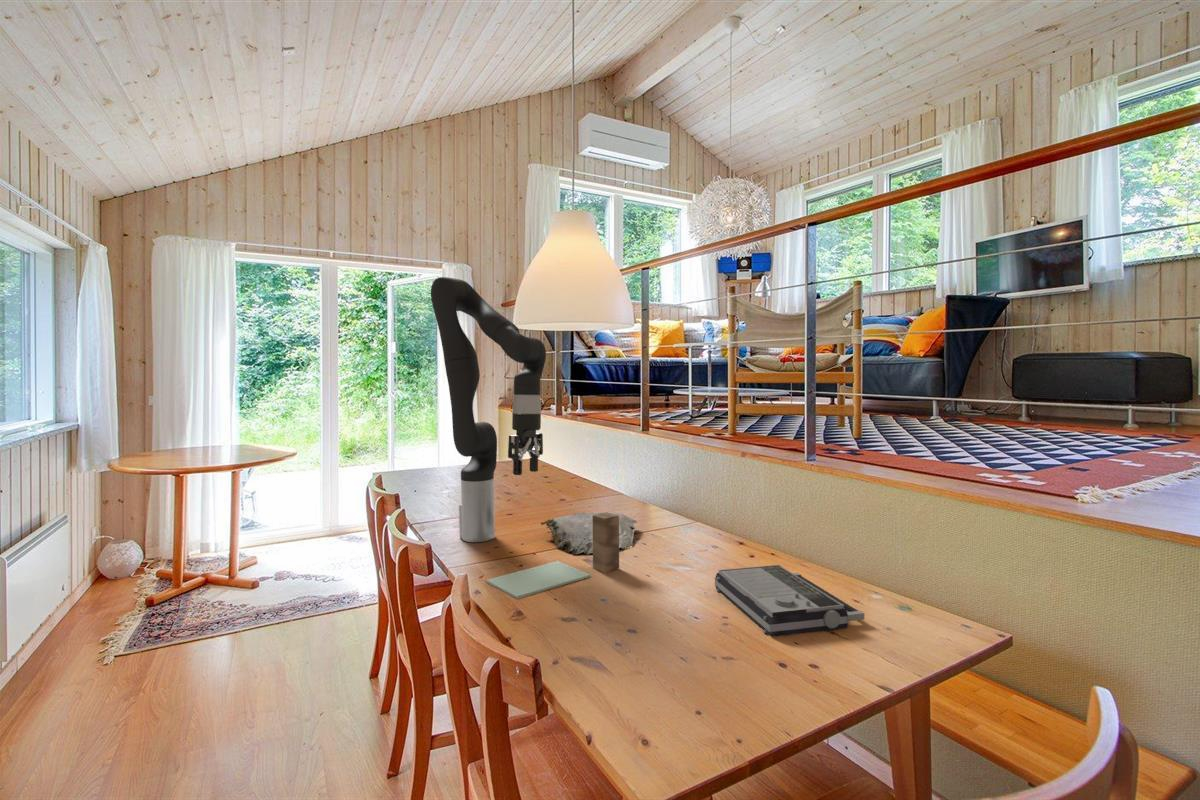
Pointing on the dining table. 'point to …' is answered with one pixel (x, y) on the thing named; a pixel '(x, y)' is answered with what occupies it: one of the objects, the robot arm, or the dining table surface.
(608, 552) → the walnut block
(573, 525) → the stone fragment
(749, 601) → the radio
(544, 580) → the mat
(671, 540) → the dining table surface
